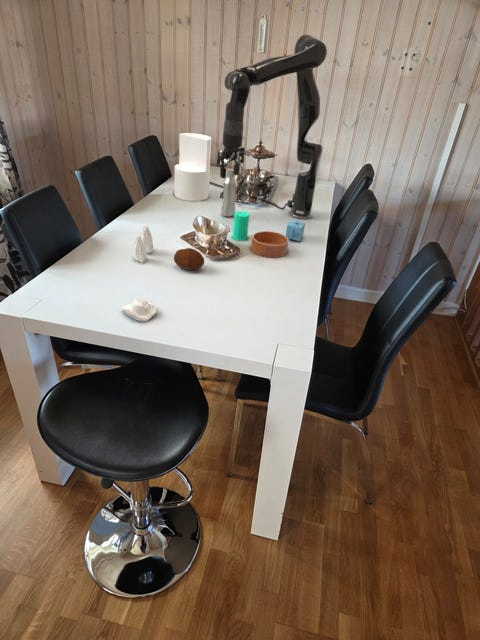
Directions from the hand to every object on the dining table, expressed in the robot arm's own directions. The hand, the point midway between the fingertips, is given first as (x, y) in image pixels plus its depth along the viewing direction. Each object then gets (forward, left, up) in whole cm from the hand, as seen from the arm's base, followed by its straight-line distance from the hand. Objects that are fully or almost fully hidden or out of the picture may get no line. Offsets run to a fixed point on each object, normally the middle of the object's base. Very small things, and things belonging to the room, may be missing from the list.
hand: (229, 176), depth 172 cm
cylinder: (-49, +3, -24) cm, 54 cm away
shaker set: (+13, -39, -24) cm, 47 cm away
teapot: (+15, +25, -24) cm, 37 cm away
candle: (+7, +3, -24) cm, 25 cm away
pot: (+21, +9, -23) cm, 33 cm away
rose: (+50, -51, -24) cm, 75 cm away
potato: (+27, -27, -24) cm, 45 cm away
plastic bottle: (-18, +9, -24) cm, 31 cm away
